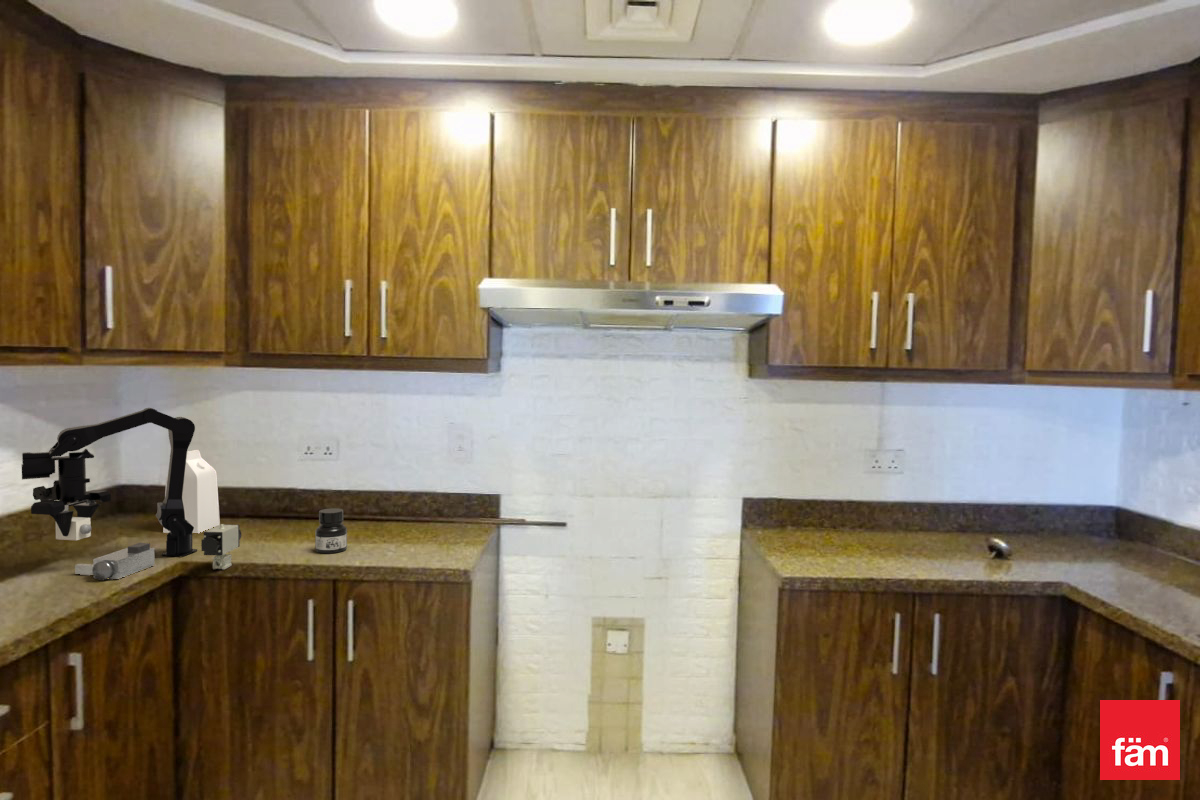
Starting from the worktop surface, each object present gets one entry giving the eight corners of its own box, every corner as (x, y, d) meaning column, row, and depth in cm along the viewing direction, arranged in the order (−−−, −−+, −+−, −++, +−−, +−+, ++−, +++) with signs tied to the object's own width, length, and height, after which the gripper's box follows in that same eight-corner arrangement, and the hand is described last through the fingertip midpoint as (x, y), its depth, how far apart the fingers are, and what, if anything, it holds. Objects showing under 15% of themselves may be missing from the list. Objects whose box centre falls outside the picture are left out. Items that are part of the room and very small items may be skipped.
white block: (70, 535, 184) (70, 516, 183) (94, 536, 183) (94, 518, 183) (55, 539, 179) (55, 520, 179) (80, 540, 178) (80, 521, 178)
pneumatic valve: (242, 561, 191) (242, 519, 190) (218, 574, 179) (217, 529, 179) (223, 561, 191) (222, 519, 190) (197, 574, 179) (197, 529, 179)
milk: (186, 523, 232) (186, 448, 231) (219, 525, 232) (219, 449, 231) (163, 532, 220) (162, 452, 219) (197, 533, 220) (196, 454, 219)
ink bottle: (313, 555, 199) (313, 514, 198) (314, 547, 207) (314, 508, 206) (348, 552, 202) (348, 512, 202) (348, 545, 211) (348, 506, 210)
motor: (107, 563, 187) (107, 539, 187) (154, 566, 185) (154, 542, 185) (63, 578, 173) (62, 553, 173) (113, 581, 172) (112, 556, 172)
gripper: (75, 469, 190) (77, 524, 191) (10, 480, 172) (12, 541, 173) (112, 470, 189) (113, 526, 190) (50, 482, 171) (51, 543, 171)
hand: (73, 533), depth 181 cm, fingers closed on white block, 4 cm apart
